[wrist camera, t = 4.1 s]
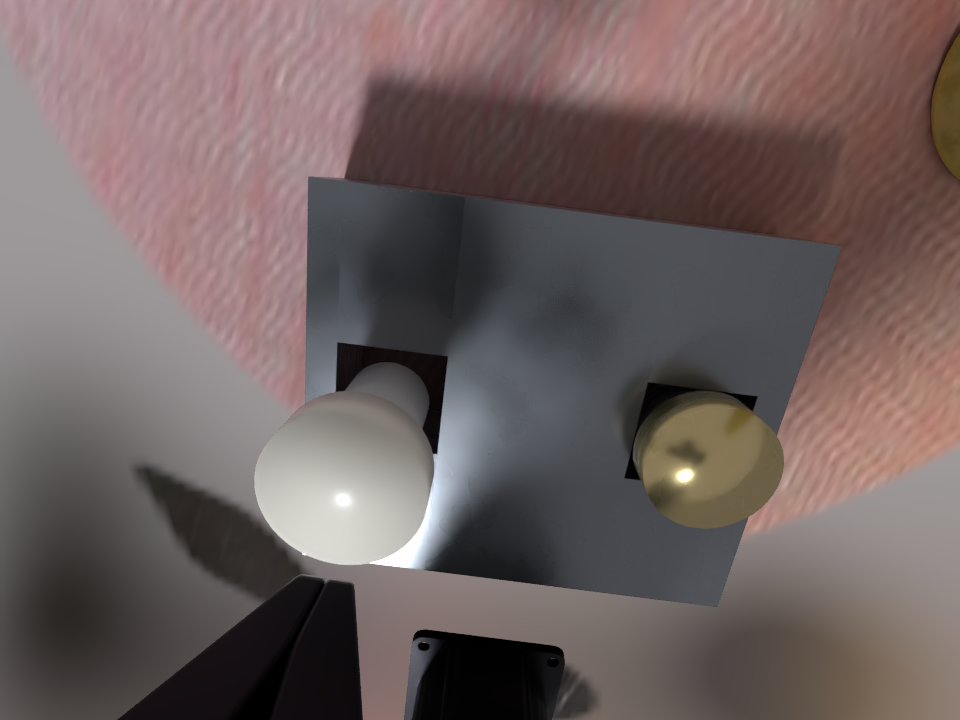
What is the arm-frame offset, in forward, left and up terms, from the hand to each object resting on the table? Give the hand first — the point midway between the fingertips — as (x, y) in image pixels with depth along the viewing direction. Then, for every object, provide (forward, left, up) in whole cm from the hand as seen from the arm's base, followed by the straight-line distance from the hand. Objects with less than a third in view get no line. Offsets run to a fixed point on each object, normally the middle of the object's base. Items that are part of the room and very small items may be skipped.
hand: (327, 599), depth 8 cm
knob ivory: (0, +1, -8) cm, 8 cm away
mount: (0, -4, -11) cm, 12 cm away
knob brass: (0, -8, -11) cm, 14 cm away
